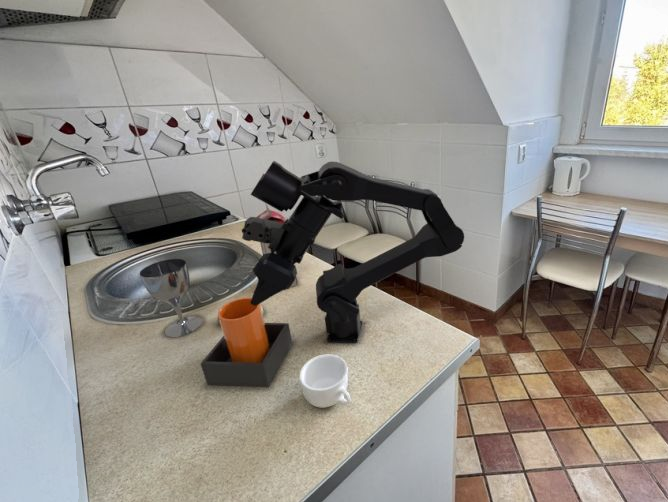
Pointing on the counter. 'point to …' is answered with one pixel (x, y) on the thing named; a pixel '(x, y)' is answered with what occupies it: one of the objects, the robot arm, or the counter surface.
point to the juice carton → (277, 218)
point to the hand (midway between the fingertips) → (259, 292)
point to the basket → (248, 374)
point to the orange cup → (244, 331)
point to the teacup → (325, 380)
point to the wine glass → (171, 291)
